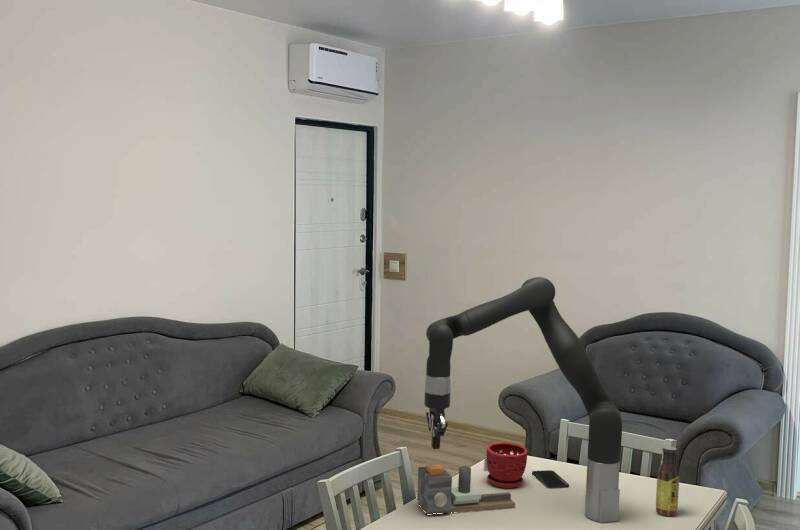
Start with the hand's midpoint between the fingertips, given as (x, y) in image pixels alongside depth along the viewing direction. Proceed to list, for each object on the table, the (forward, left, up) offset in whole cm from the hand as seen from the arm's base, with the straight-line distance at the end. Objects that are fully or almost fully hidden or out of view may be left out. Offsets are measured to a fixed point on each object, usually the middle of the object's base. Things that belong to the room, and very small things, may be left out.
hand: (435, 448), depth 241 cm
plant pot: (+16, -31, -19) cm, 39 cm away
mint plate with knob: (0, -9, -17) cm, 19 cm away
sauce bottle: (-18, -68, -19) cm, 72 cm away
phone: (+16, -47, -19) cm, 53 cm away
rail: (0, -11, -19) cm, 21 cm away
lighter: (+29, -32, -19) cm, 47 cm away
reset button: (0, 0, -8) cm, 8 cm away
